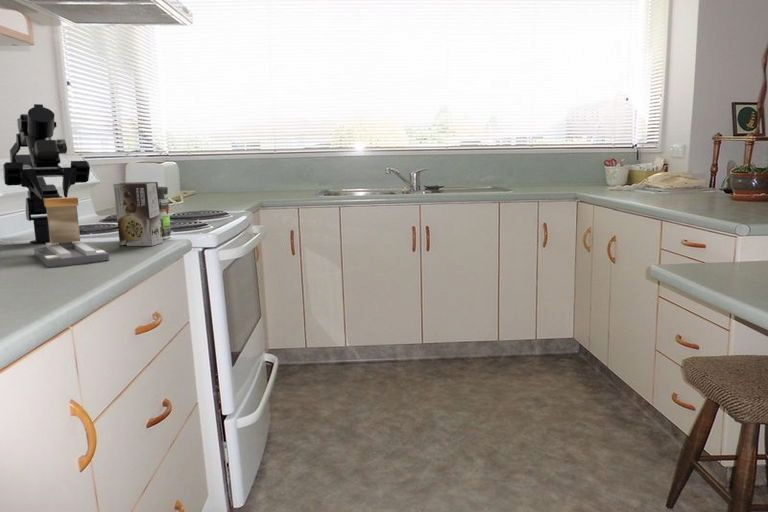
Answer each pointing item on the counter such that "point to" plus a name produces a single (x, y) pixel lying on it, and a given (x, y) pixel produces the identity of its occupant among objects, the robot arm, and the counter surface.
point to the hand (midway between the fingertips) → (54, 197)
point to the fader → (63, 220)
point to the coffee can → (164, 212)
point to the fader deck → (70, 254)
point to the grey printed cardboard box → (138, 213)
